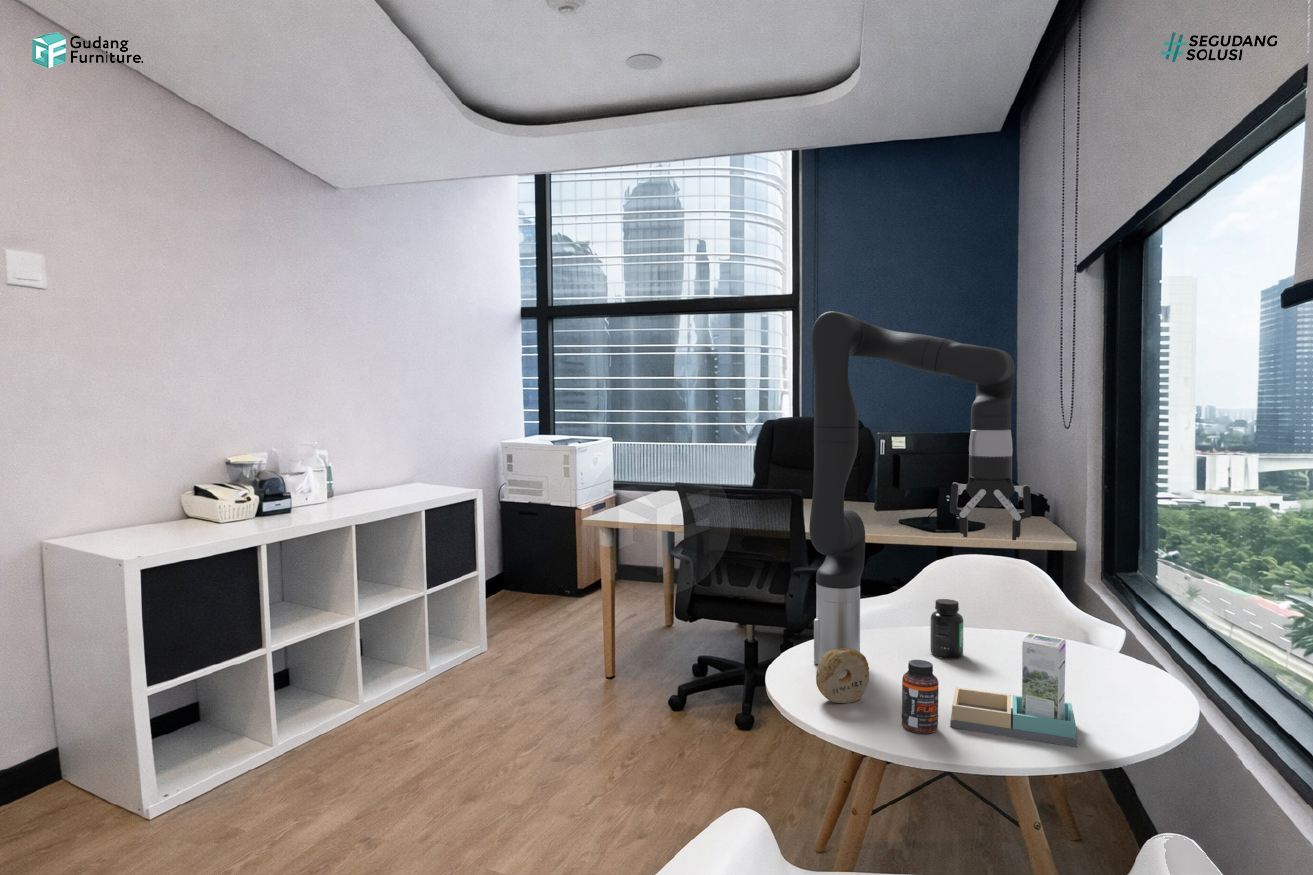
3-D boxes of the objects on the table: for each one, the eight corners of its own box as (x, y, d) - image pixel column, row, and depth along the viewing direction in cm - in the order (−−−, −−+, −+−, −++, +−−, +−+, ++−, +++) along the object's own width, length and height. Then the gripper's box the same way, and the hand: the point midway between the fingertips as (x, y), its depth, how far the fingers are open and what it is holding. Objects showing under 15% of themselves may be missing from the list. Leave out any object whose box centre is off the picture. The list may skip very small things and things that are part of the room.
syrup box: (1065, 721, 129) (1066, 637, 129) (1057, 733, 125) (1058, 646, 124) (1029, 713, 133) (1030, 631, 133) (1020, 724, 129) (1021, 639, 128)
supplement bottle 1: (918, 737, 127) (918, 670, 126) (894, 724, 132) (894, 660, 132) (945, 731, 129) (946, 665, 128) (920, 718, 134) (921, 655, 134)
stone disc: (861, 694, 146) (861, 642, 146) (871, 701, 142) (871, 648, 142) (812, 700, 143) (812, 647, 143) (821, 707, 140) (821, 654, 139)
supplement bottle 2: (969, 658, 166) (970, 604, 166) (942, 660, 165) (942, 606, 164) (950, 648, 173) (951, 596, 172) (924, 651, 171) (924, 598, 171)
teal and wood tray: (950, 726, 131) (950, 705, 130) (954, 706, 140) (954, 686, 139) (1077, 747, 122) (1077, 724, 122) (1072, 723, 131) (1072, 702, 131)
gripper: (949, 454, 144) (948, 538, 144) (1032, 455, 138) (1031, 544, 138) (951, 451, 150) (951, 532, 151) (1031, 453, 144) (1030, 537, 145)
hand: (989, 538), depth 145 cm, fingers open, 8 cm apart
